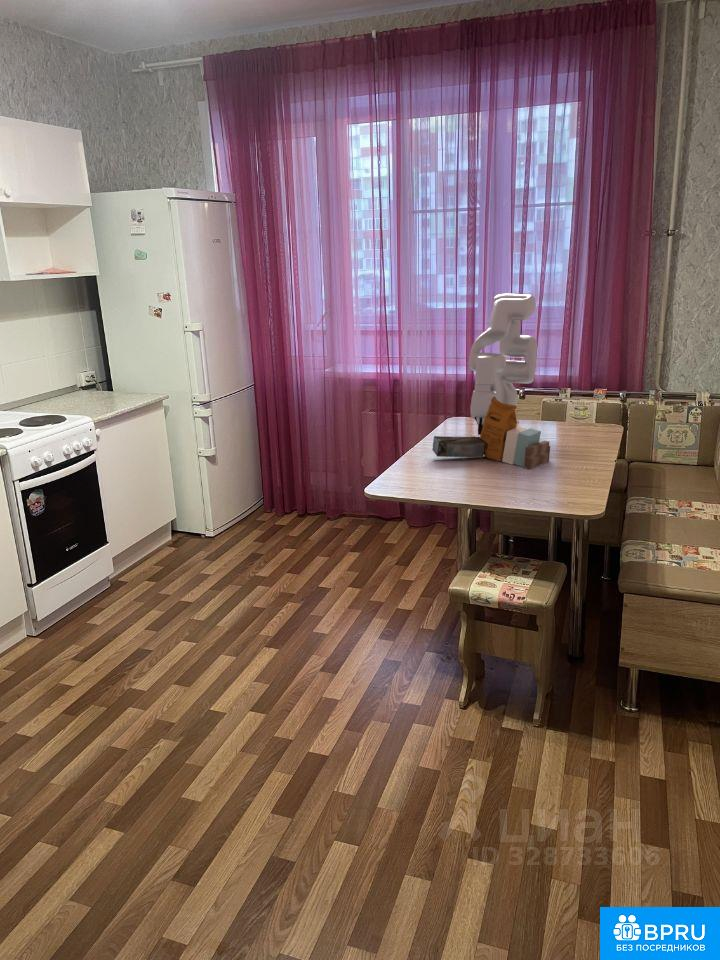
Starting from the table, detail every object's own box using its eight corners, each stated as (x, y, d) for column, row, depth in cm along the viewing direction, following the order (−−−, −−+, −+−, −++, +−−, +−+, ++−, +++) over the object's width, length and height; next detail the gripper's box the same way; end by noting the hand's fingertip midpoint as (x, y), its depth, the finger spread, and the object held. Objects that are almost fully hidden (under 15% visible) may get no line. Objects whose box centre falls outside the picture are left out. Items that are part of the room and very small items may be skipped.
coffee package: (490, 447, 295) (499, 395, 286) (514, 458, 286) (524, 404, 277) (473, 452, 289) (482, 398, 280) (497, 463, 280) (507, 407, 271)
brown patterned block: (504, 452, 295) (505, 432, 293) (549, 461, 282) (550, 441, 280) (483, 459, 285) (484, 439, 282) (528, 469, 272) (530, 448, 269)
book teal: (525, 457, 285) (530, 428, 281) (535, 461, 283) (541, 431, 278) (513, 463, 278) (518, 433, 273) (523, 466, 275) (529, 436, 271)
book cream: (514, 455, 288) (519, 426, 284) (524, 459, 285) (529, 429, 281) (502, 461, 280) (507, 431, 276) (512, 464, 278) (517, 434, 274)
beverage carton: (431, 449, 287) (433, 433, 285) (478, 450, 291) (480, 435, 288) (436, 457, 280) (438, 441, 277) (484, 458, 283) (487, 442, 281)
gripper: (506, 389, 282) (503, 436, 288) (474, 384, 292) (471, 429, 298) (495, 391, 277) (492, 439, 283) (463, 386, 287) (460, 432, 292)
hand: (481, 434), depth 290 cm, fingers closed
